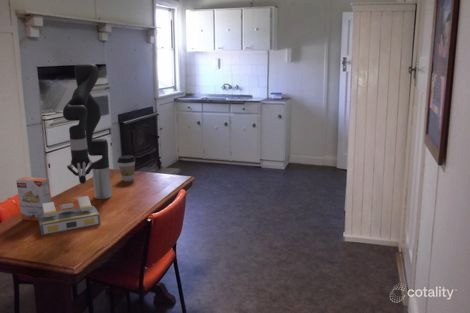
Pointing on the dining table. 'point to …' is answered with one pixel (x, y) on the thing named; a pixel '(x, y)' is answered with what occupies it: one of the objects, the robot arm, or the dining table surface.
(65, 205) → the rocker mid
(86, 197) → the rocker right
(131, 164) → the coffee cup
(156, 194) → the dining table surface
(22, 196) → the cracker box
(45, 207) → the rocker left
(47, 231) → the switch unit
